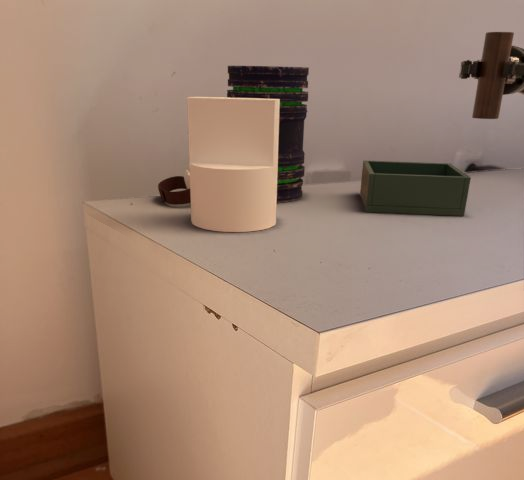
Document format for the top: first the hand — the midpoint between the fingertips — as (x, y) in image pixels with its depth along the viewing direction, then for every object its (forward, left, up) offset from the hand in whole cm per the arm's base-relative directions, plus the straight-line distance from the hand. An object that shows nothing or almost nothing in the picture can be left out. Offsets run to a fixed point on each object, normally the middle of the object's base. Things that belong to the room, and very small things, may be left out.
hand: (490, 69), depth 86 cm
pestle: (-1, -2, -7) cm, 8 cm away
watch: (+42, +30, -16) cm, 54 cm away
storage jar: (+32, +24, -16) cm, 43 cm away
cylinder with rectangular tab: (+34, +39, -16) cm, 54 cm away
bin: (+14, +26, -16) cm, 33 cm away
